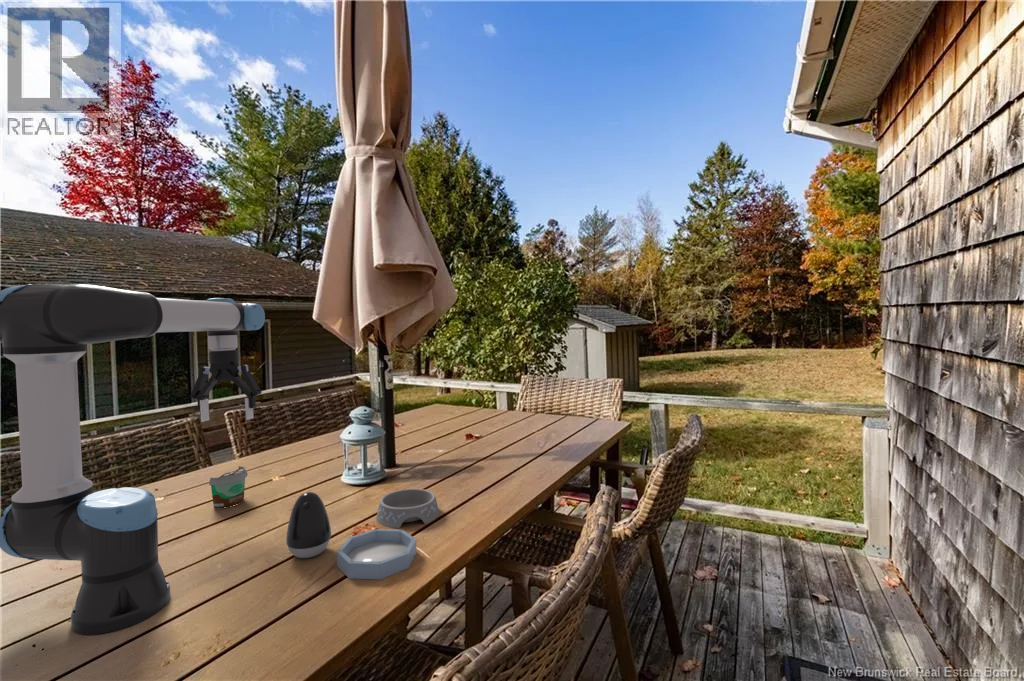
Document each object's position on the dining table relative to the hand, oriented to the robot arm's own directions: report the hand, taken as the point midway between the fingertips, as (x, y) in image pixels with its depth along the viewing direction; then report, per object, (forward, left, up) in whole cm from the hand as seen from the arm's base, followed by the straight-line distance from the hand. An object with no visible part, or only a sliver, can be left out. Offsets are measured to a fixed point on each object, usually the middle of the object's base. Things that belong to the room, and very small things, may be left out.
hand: (227, 420), depth 141 cm
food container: (+4, +2, -28) cm, 28 cm away
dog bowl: (-1, -55, -28) cm, 62 cm away
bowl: (-27, -55, -28) cm, 67 cm away
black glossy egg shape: (-25, -37, -28) cm, 52 cm away
